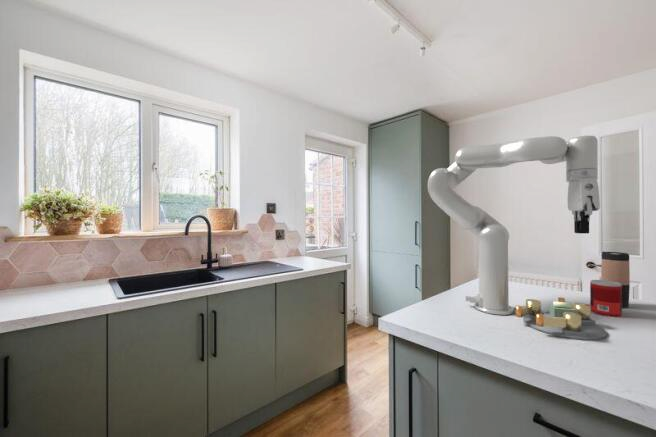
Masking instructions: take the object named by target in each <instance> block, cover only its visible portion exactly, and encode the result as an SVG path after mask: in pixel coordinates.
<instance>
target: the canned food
mask: <svg viewBox="0 0 656 437" xmlns="http://www.w3.org/2000/svg"><path fill="white" fill-rule="evenodd" d="M589 284H590V286H589V287H590V288H589V289H590V290H589V292H590V293H589V294H590V299H589V300H590V304H589V305H590V312H592V313H593V314H596V315H599V316H604V317H605V316H606V317H611V318H612V317H613V318H614V317H615V318H616V317H617V318H618V317H621V316H622V314H623V313H622V312H623V311H622V310H623V308H622V284H621V283H618V282H613V281H606V280H601V279H591V280H590V283H589Z"/></svg>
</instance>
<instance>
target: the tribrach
mask: <svg viewBox="0 0 656 437" xmlns="http://www.w3.org/2000/svg"><path fill="white" fill-rule="evenodd" d="M566 302H567V301H566ZM566 302H558V301H552V304H549V311H546V312H541V314H543V315H544V317H563V312H573V313H574V310H573V309H572V308H571V305H570V303H571V302H569V303H566ZM522 321H523V323H524V324H525V325H526V326H528V327H530V328H532V329H534V330H536V331H539V332H541V333H544V334H547V335H551V336H556V337H559V338H564V339H570V340H578V341H598V340H603V339H605V338H606V336H607V331H606V330H605V329H604V328H603V327H602V326H600V325H598V324H596V322H597V321H596V319H592V318H590V319H589V320H585V319H581V331H574V330H569V329H566V328H564V327H544V326H543V327H540V326H537V325H536V315H533V314H529V315H526V316H523V317H522Z"/></svg>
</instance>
